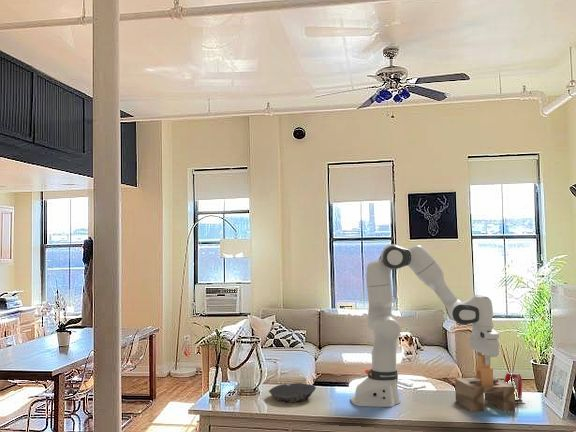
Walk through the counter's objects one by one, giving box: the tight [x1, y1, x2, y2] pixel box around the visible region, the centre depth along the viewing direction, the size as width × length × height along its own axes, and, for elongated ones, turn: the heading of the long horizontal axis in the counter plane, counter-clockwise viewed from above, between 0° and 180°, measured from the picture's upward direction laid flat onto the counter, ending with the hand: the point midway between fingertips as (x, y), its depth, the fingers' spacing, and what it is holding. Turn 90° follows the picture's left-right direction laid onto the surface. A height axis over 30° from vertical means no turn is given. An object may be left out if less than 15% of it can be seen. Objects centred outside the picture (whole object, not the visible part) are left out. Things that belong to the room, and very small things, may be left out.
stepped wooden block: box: [474, 354, 494, 393], centre depth 240 cm, size 5×6×16 cm
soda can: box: [504, 371, 523, 401], centre depth 249 cm, size 7×7×12 cm
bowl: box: [268, 382, 317, 404], centre depth 251 cm, size 22×22×5 cm
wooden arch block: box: [454, 376, 516, 413], centre depth 240 cm, size 19×17×12 cm
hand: (483, 363), depth 241 cm, fingers closed on stepped wooden block, 4 cm apart
